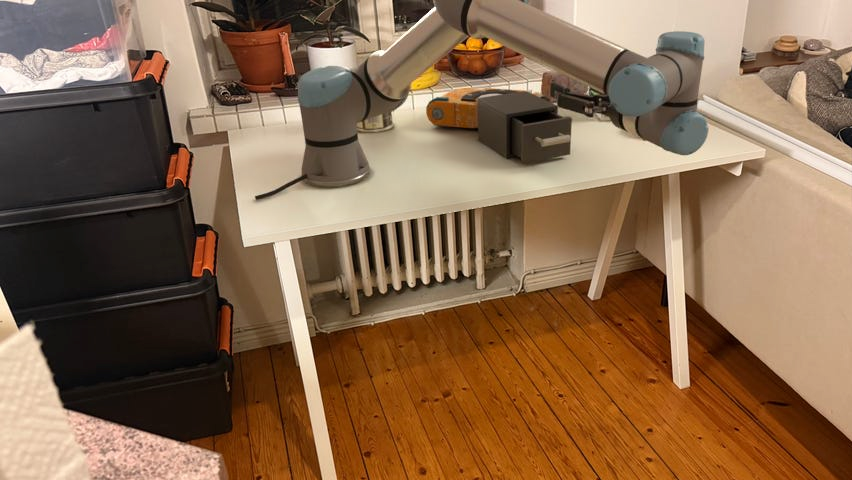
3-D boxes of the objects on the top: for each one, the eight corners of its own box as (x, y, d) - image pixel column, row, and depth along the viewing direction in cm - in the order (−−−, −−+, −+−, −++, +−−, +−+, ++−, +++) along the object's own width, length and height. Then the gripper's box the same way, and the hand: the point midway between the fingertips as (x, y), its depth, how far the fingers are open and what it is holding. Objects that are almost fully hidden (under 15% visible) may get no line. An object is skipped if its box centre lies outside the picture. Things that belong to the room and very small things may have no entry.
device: (453, 77, 203) (553, 84, 194) (454, 106, 207) (553, 113, 198) (422, 98, 185) (531, 106, 175) (424, 128, 189) (531, 138, 179)
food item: (573, 91, 218) (575, 59, 213) (590, 96, 212) (592, 63, 207) (538, 98, 212) (538, 65, 207) (554, 104, 206) (555, 70, 201)
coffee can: (382, 118, 197) (377, 68, 190) (399, 127, 190) (395, 75, 183) (348, 125, 192) (342, 73, 185) (365, 135, 185) (359, 81, 178)
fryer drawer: (580, 160, 162) (581, 122, 158) (532, 169, 157) (533, 131, 153) (539, 137, 177) (540, 102, 173) (494, 145, 172) (494, 109, 168)
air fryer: (556, 149, 172) (557, 105, 167) (506, 158, 167) (506, 114, 162) (525, 131, 184) (525, 90, 179) (478, 139, 179) (477, 98, 174)
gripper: (586, 142, 126) (526, 111, 144) (682, 124, 134) (613, 97, 152) (588, 101, 123) (526, 74, 141) (686, 85, 131) (616, 62, 149)
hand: (571, 86), depth 146 cm, fingers open, 9 cm apart
